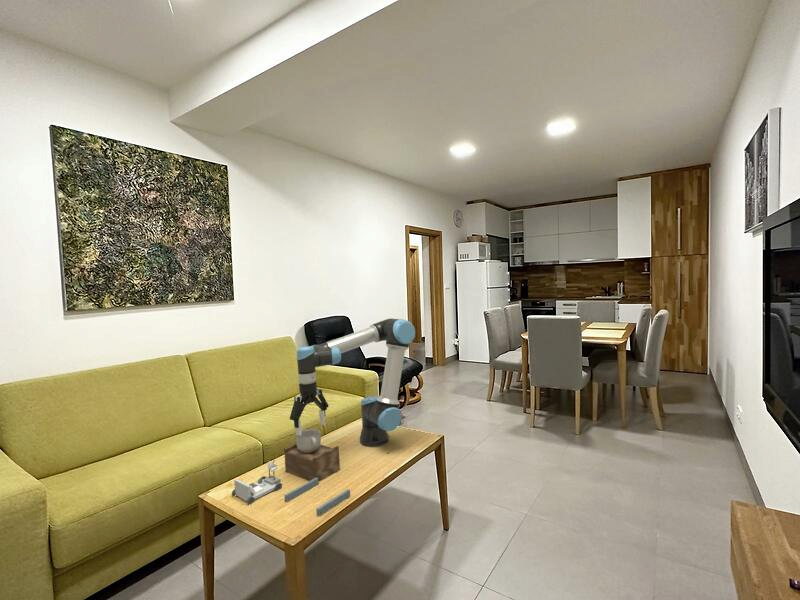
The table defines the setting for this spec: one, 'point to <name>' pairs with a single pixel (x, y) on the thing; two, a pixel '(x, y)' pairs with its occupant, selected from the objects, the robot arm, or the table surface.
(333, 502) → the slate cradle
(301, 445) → the teacup
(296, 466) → the walnut stand
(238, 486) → the toy rover
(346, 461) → the table surface
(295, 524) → the table surface
